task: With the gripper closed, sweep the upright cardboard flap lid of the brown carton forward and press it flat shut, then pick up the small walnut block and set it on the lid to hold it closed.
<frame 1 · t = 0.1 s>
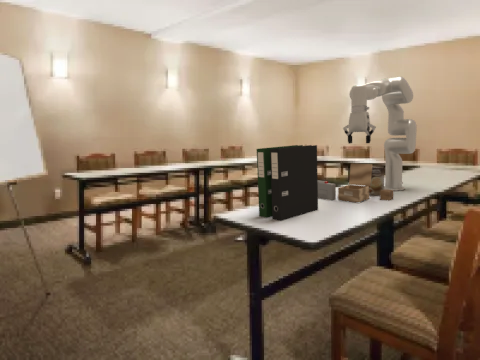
hand: (358, 143, 185), 31 cm above the table, tool pointing down, fingers open, 9 cm apart
lid: (360, 174, 199), point 13 cm above the table, hinge at 100.0°
carton: (353, 199, 195), on the table
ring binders: (290, 213, 172), on the table
cassette player: (323, 198, 203), on the table
coffee box: (374, 195, 207), on the table
walnut block: (386, 199, 193), on the table
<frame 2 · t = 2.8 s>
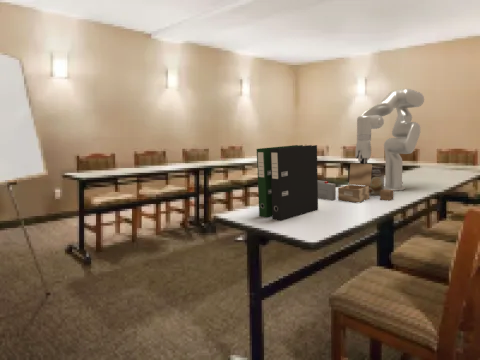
hand: (363, 170, 201), 15 cm above the table, tool pointing down, fingers closed
lid: (360, 174, 199), point 13 cm above the table, hinge at 98.3°
everything else where it was.
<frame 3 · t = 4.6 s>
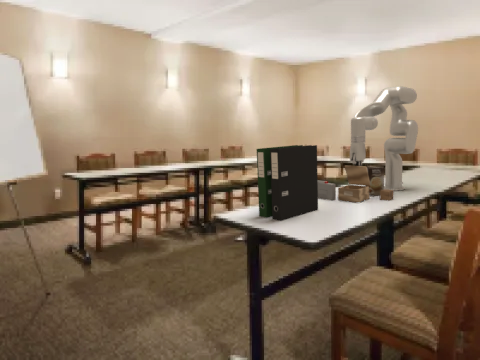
hand: (358, 173, 197), 14 cm above the table, tool pointing down, fingers closed
lid: (357, 175, 197), point 13 cm above the table, hinge at 65.5°, touching gripper
everything else where it was.
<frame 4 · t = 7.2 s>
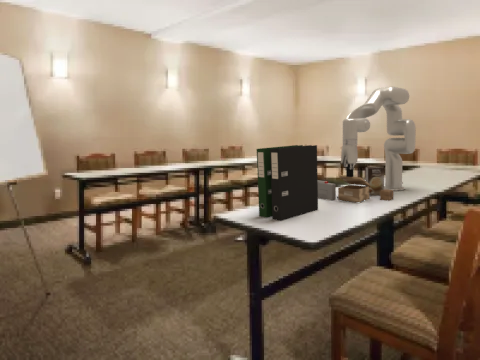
hand: (349, 176, 191), 13 cm above the table, tool pointing down, fingers closed
lid: (354, 180, 195), point 10 cm above the table, hinge at 26.3°, touching gripper
everything else where it was.
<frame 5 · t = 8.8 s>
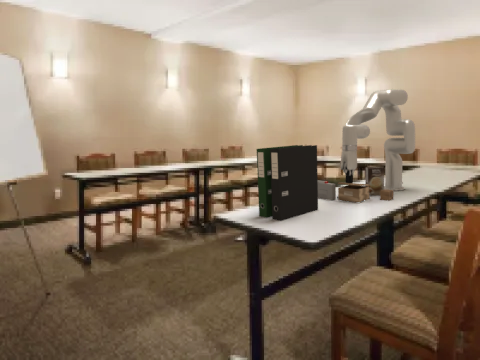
hand: (349, 182, 191), 10 cm above the table, tool pointing down, fingers closed
lid: (354, 183, 194), point 9 cm above the table, hinge at 9.0°, touching gripper
everything else where it was.
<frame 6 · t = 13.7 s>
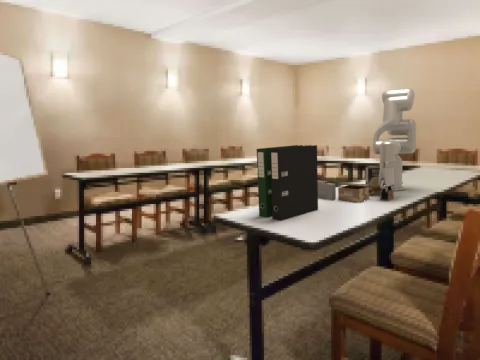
hand: (386, 198, 192), 1 cm above the table, tool pointing down, fingers closed on walnut block, 5 cm apart
lid: (354, 184, 194), point 9 cm above the table, hinge at 8.6°
walnut block: (386, 199, 192), on the table, touching gripper
everything else where it was.
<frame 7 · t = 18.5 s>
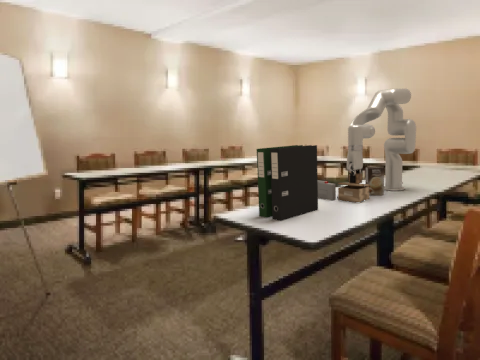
hand: (355, 181, 193), 10 cm above the table, tool pointing down, fingers closed on walnut block, 4 cm apart
lid: (354, 184, 194), point 9 cm above the table, hinge at 8.1°, touching walnut block
walnut block: (355, 183, 193), point 9 cm above the table, touching gripper, lid
everything else where it was.
when the fingers open (10 cm above the table, at t = 18.6 s): walnut block stays where it is, resting on lid.
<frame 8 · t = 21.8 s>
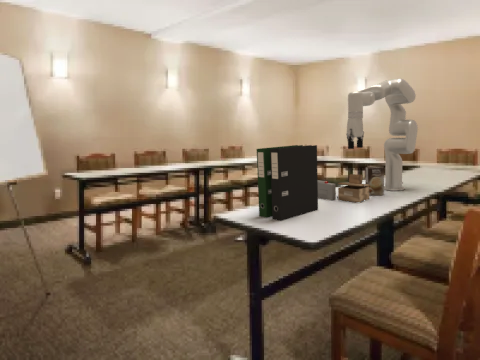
hand: (355, 148, 191), 28 cm above the table, tool pointing down, fingers open, 9 cm apart
walnut block: (355, 183, 193), point 9 cm above the table, tilted 8°, touching lid
everything else where it was.
at the end: lid at +8° (first picture: +100°); walnut block inside the target area on the carton (1.0 cm from its centre), point 9.0 cm above the carton's base; walnut block tilted 8° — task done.
